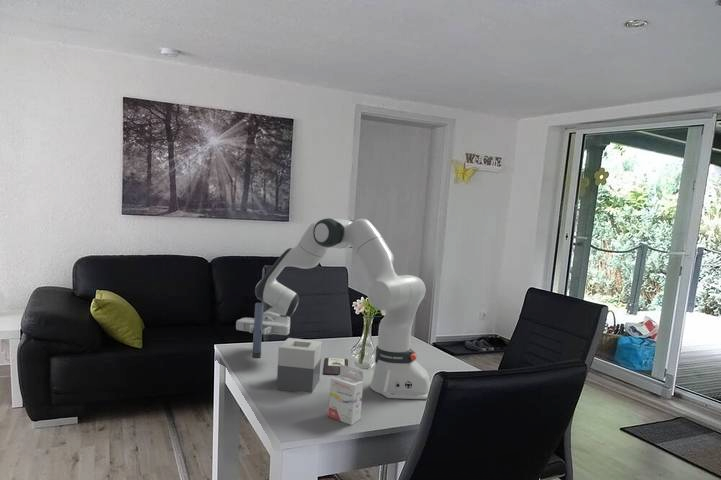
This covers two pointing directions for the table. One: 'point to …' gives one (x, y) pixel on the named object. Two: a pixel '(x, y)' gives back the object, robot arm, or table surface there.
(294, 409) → the table surface
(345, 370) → the ink cartridge box
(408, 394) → the robot arm
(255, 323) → the stylus
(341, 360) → the chocolate bar
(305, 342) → the box
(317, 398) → the table surface
